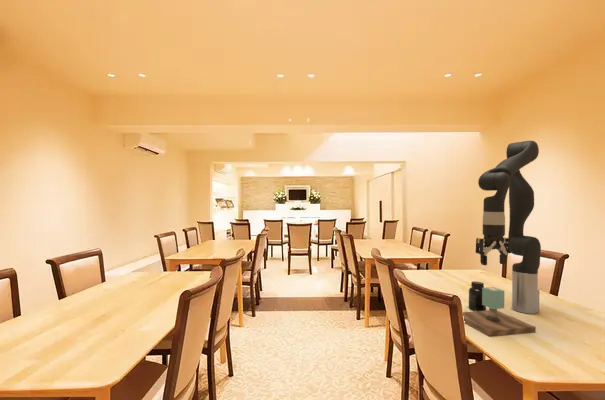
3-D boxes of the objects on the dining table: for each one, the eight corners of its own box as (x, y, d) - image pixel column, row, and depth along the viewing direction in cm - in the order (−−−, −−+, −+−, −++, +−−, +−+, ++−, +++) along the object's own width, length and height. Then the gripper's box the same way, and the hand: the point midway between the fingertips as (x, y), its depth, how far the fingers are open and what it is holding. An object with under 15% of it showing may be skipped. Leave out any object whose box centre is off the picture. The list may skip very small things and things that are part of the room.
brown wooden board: (495, 314, 131) (495, 293, 131) (535, 332, 113) (535, 308, 113) (454, 317, 127) (454, 296, 127) (489, 336, 109) (489, 312, 109)
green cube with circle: (493, 303, 123) (493, 286, 123) (504, 308, 118) (504, 290, 118) (482, 304, 122) (482, 287, 122) (492, 309, 117) (492, 290, 117)
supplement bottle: (488, 312, 133) (488, 285, 133) (471, 311, 134) (471, 284, 134) (482, 307, 140) (482, 281, 140) (466, 306, 141) (466, 280, 141)
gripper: (501, 222, 125) (500, 262, 125) (470, 222, 122) (470, 263, 122) (517, 224, 118) (517, 266, 118) (485, 224, 115) (485, 267, 115)
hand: (493, 264), depth 120 cm, fingers open, 8 cm apart
